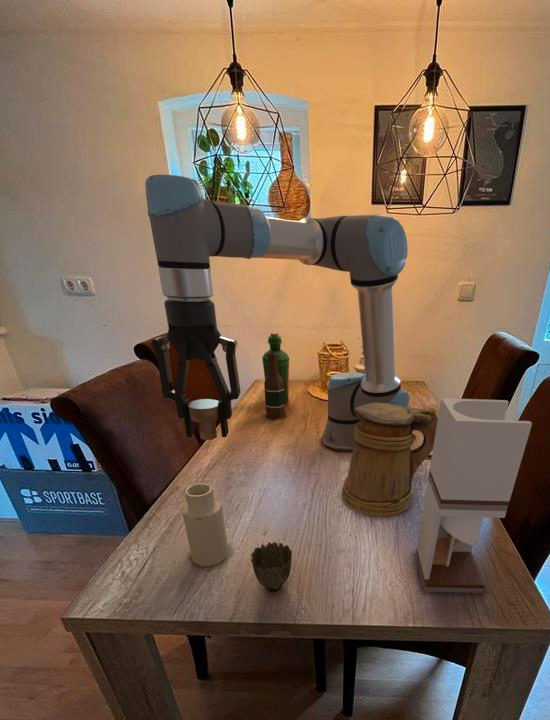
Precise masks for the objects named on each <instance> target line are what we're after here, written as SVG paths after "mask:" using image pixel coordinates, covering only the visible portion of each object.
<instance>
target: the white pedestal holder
mask: <svg viewBox="0 0 550 720" xmlns="http://www.w3.org/2000/svg"><path fill="white" fill-rule="evenodd" d="M509 403H510V402H509V401H508V400H506V399H504V400H503V399H482V398H481V399H480V398H479V399H478V398H451V397H450V398H449V397H448V398H447V397H441V398H440V403H439V408H438V414H437V415H438V416H437V418H438V421H437V427H436V434H435V440H434V446H433V450H432V451H431V455H432V458H430V465H429V471H428V476H427V484H426V489H425V496H424V502H423V508H422V514H421V521H420V526H419V533H418V538H417V546H416V551H415V558H416V561H417V567H418V570H419V575H420V579H421V584H422V588H423V592H425V593H426V592H427V593H428V592H429V593H464V594H465V593H468V594H469V593H471V594H483V593H484V590H485V587H486V584H485V582H484V579H483V577H482V575H481V572H480V570H479V567H478V565H477V563H476V560H475V558H474V556H473V553H472V549H473V546H477V544H478V540H479V537H480V533H481V529H482V525H483V522H484V518H493V519H495V518H496V519H505V518H506V515H507V511H508V507H509V504H510V501H511V498H512V494H513V491H514V487H515V483H516V480H517V477H518V474H519V470H520V467H521V463H522V460H523V457H524V453H525V450H526V446H527V443H528V440H529V436H530V433H531V429H532V425H533V422H531V421H530V420H509V419H508V420H507V419H506V415H507V412H508V407H509ZM505 419H506V420H505Z"/></svg>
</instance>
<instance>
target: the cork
mask: <svg viewBox="0 0 550 720" xmlns="http://www.w3.org/2000/svg"><path fill="white" fill-rule="evenodd" d="M219 401H220V400H217V399H211V398H199V399H196V400H192V401H190V403H188V411H189V417H190V420H192V421H193V422H194V423H197V424H198V425H197V426H198V431H199V437H200V439H201V440H202V441H211V440H215V439H217V438H218V433H217V432H218V431H217V424H216V422H217V421H219V420H220V417H219V409H218V402H219Z"/></svg>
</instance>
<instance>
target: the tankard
mask: <svg viewBox="0 0 550 720" xmlns="http://www.w3.org/2000/svg"><path fill="white" fill-rule="evenodd" d="M354 413H356V414H357V415H359V416H360V421H359V423H358V424H357V425H356V428H355V432H354V439H355V444H354V449H353V451H352V453H351V459H350V463H349V467H348V472H347V476H346V477H345V479H344V480H343V485H342V488H341V493H340V496H341V499H342V501H343V503H344V504H345V505H346V506H347V507H348V508H350V510H353V511H354V512H356V513H360V514H362V515H365V516H371V517H388V516H394V515H399V514H401V513H402V512H405V511H406V510H407V509H408V508H409V507H410V506H411V503H412V499H413V497H414V492H413V490H414V489H413V485H412V483H413V479H414V476H415V474H416V472H417V470H418V469H419V467H420V466H421V465H422V463H423V462H424V461H425V460H427V458H429V457H428V455H431V454H432V452H433V446H434V440H435V434H436V427H437V421H438V416H437V414H436V413H437V410H436V409H435V408H433V407H429V408H419V407H418V408H416V407H409V406H408V407H405V406H401V405H395V404H387V403H369V404H366V405H363V406H360V407H357V408H356V409H355V410H354ZM413 431H416V432H417V431H418V432H420V433H421V434H422V435H423V438H422V439H423V441H422V443H421V445H420V446H418V447H417V448H413V449H411V448H412V446H413V445H414V442H415V441H416V440H417V436H416V435H415V434H414V433H413Z"/></svg>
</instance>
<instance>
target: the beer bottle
mask: <svg viewBox="0 0 550 720" xmlns="http://www.w3.org/2000/svg"><path fill="white" fill-rule="evenodd" d="M267 356H268V375H267V377H266V378H265V377H264V383H263V385H264V386H263V387H264V401H265V402H264V403H265V413H266V417H267V418H269V419H271V420H272V419H273V420H278V419H279V420H280V419H282V418H284V417H286V404H285V400H284V385H283V381H282V378H281V377H280V375H279V373H278V366H277V353H276V352H268V354H267Z"/></svg>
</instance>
